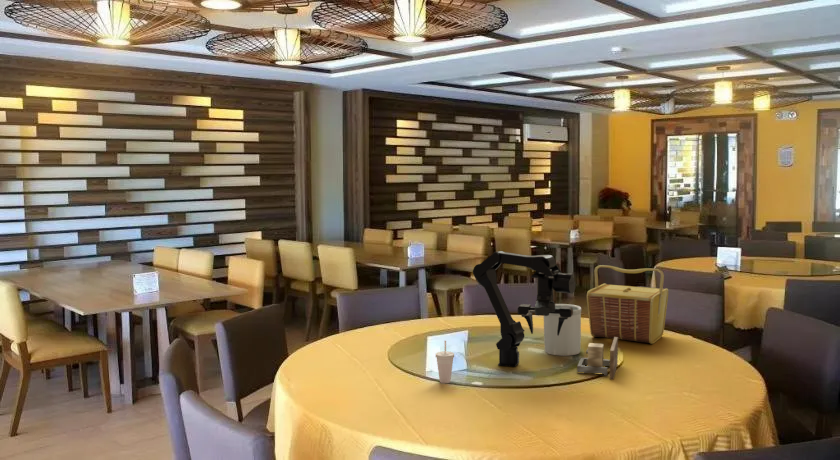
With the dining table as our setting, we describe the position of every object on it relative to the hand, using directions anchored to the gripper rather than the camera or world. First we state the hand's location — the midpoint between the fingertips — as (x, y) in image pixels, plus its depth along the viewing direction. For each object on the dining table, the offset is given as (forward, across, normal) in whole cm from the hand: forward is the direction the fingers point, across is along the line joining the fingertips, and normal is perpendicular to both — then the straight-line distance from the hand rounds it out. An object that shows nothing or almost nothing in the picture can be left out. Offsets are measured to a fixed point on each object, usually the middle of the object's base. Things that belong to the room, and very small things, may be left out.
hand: (545, 334), depth 254 cm
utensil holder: (+13, +2, +28) cm, 31 cm away
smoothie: (+13, -30, -23) cm, 40 cm away
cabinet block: (+13, +17, +6) cm, 22 cm away
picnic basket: (+13, +25, +59) cm, 65 cm away
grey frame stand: (+13, +17, +6) cm, 22 cm away
